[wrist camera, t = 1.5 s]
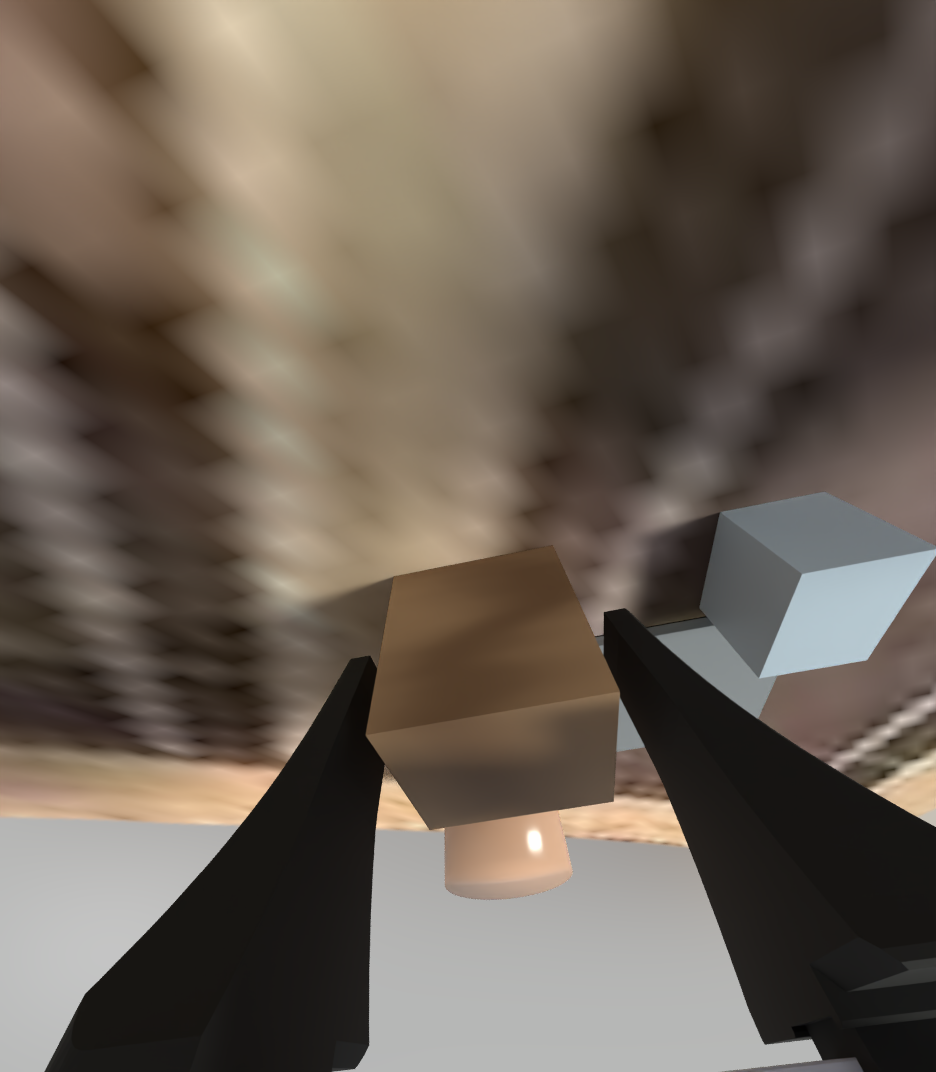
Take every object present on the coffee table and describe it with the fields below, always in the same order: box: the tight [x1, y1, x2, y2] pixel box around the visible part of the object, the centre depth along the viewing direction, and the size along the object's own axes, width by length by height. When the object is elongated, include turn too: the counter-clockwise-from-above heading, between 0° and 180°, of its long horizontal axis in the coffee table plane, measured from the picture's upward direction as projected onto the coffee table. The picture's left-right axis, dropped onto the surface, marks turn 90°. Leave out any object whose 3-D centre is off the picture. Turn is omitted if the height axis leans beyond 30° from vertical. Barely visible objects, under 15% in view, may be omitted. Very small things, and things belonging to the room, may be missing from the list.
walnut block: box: [366, 545, 620, 830], centre depth 10 cm, size 5×5×5 cm
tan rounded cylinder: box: [445, 810, 573, 900], centre depth 14 cm, size 4×4×5 cm
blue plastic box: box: [699, 492, 936, 678], centre depth 10 cm, size 3×4×3 cm
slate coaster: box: [595, 617, 777, 752], centre depth 15 cm, size 8×8×1 cm
